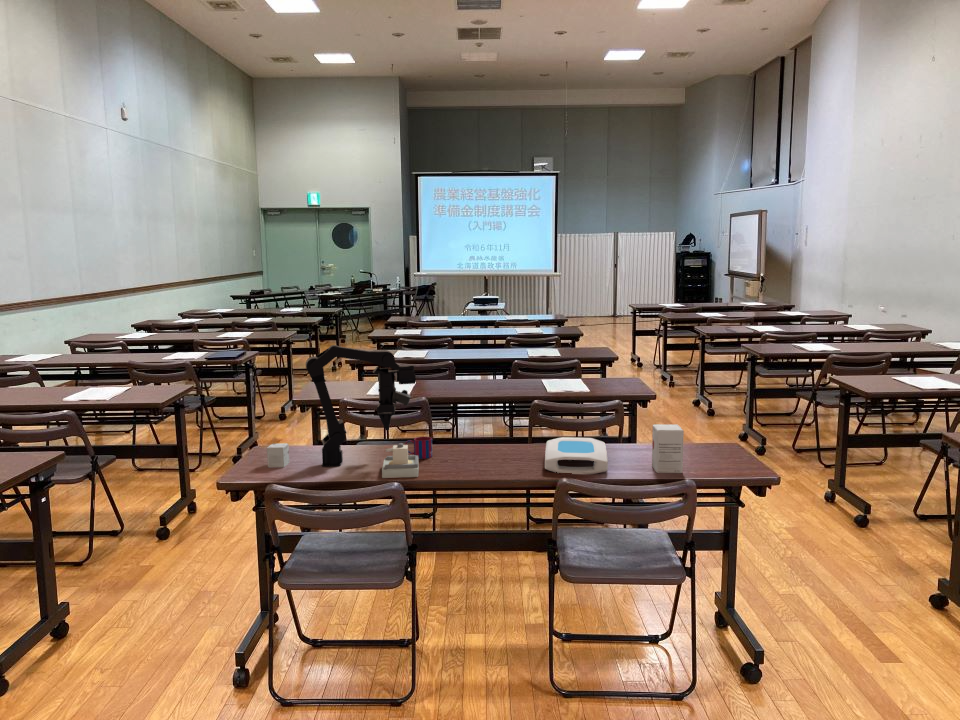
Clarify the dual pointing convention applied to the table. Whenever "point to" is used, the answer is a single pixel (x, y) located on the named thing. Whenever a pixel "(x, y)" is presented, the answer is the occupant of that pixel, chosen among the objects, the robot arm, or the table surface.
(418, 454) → the mug
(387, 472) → the grey tray
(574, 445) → the document scanner
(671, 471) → the supplement box
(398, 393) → the robot arm
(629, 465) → the table surface
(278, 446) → the skincare box
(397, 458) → the spout can
